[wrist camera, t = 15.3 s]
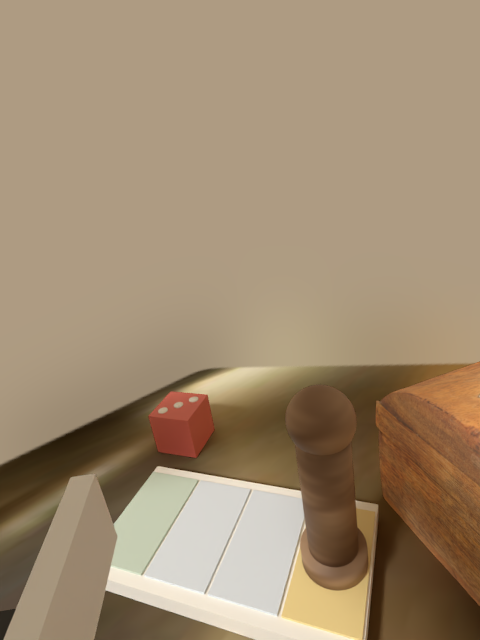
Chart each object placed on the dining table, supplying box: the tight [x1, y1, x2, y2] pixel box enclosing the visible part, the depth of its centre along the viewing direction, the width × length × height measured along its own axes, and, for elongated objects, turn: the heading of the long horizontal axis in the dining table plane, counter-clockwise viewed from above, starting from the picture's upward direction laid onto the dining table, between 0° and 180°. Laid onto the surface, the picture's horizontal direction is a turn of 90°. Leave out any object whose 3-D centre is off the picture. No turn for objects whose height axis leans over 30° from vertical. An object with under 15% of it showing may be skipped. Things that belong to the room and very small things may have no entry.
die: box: [148, 392, 215, 458], centre depth 48 cm, size 5×5×5 cm
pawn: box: [285, 385, 368, 591], centre depth 28 cm, size 5×5×15 cm
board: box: [105, 466, 379, 640], centre depth 34 cm, size 22×12×2 cm, turn 69°
